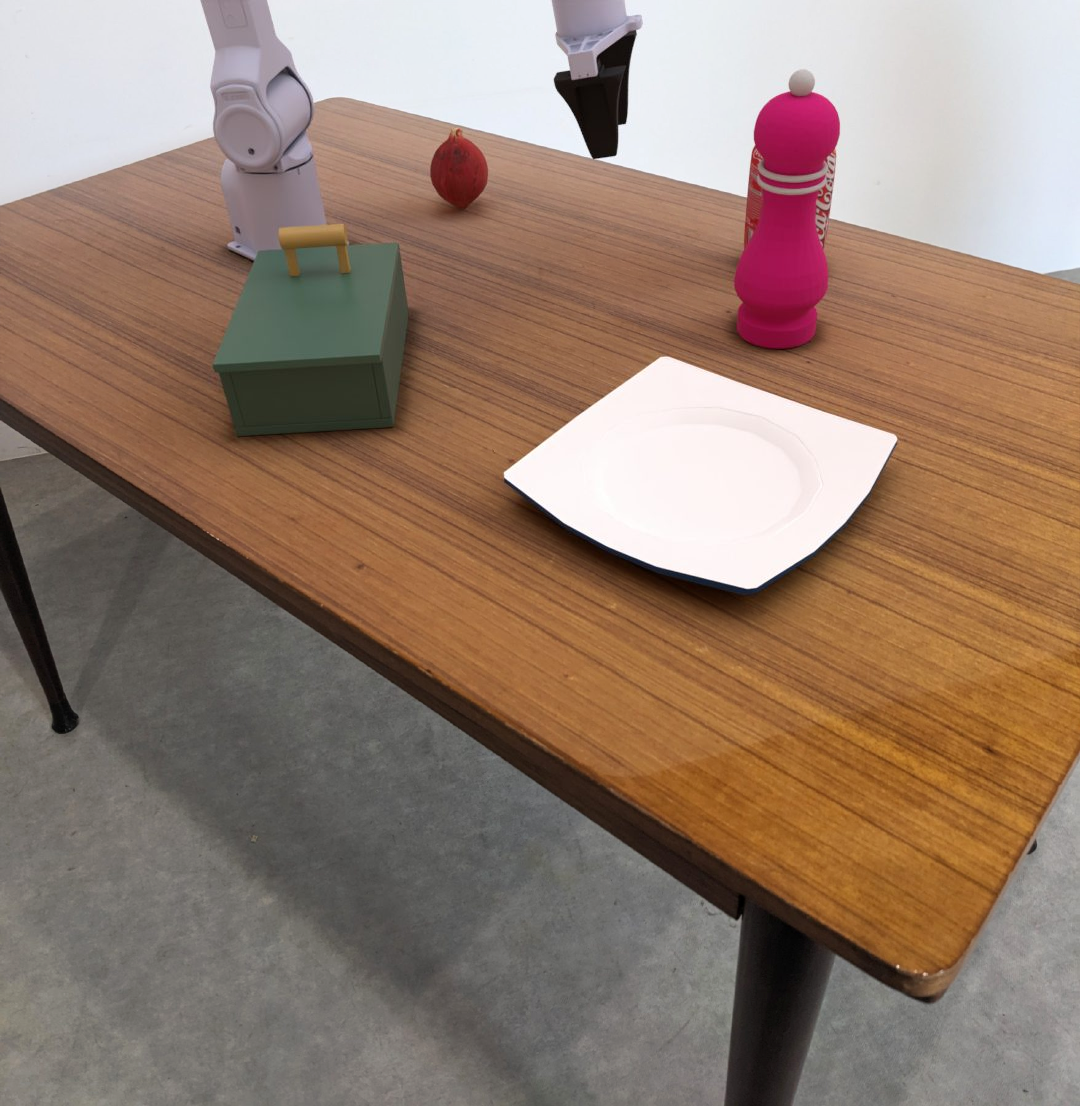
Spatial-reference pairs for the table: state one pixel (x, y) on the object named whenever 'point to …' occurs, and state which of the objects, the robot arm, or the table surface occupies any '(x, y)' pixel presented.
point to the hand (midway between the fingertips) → (610, 139)
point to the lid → (311, 303)
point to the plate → (704, 476)
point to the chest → (323, 388)
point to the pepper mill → (787, 219)
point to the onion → (458, 170)
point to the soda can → (756, 198)
